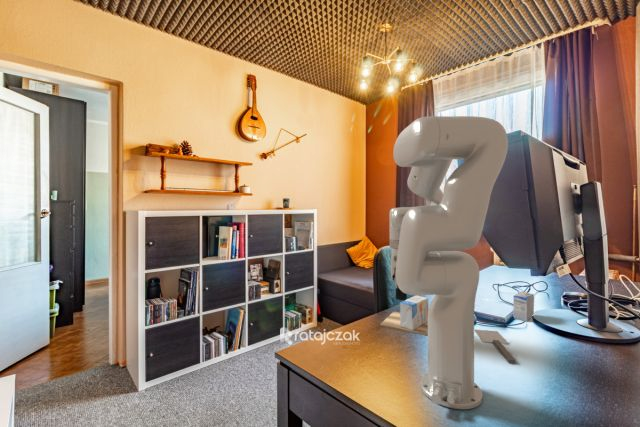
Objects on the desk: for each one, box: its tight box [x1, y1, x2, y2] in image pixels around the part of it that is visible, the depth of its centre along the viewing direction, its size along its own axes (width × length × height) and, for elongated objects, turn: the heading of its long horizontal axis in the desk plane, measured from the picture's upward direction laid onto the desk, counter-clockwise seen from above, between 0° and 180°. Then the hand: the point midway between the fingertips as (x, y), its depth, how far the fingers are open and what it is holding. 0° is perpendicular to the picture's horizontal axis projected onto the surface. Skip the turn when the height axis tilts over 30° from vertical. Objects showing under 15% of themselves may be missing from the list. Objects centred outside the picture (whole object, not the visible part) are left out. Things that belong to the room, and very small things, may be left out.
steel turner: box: [474, 329, 517, 365], centre depth 88 cm, size 21×7×1 cm, turn 168°
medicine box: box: [512, 291, 535, 322], centre depth 110 cm, size 8×4×9 cm, turn 130°
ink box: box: [399, 295, 429, 330], centre depth 105 cm, size 8×5×15 cm
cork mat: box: [379, 311, 428, 337], centre depth 106 cm, size 15×16×1 cm
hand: (401, 299), depth 99 cm, fingers closed
